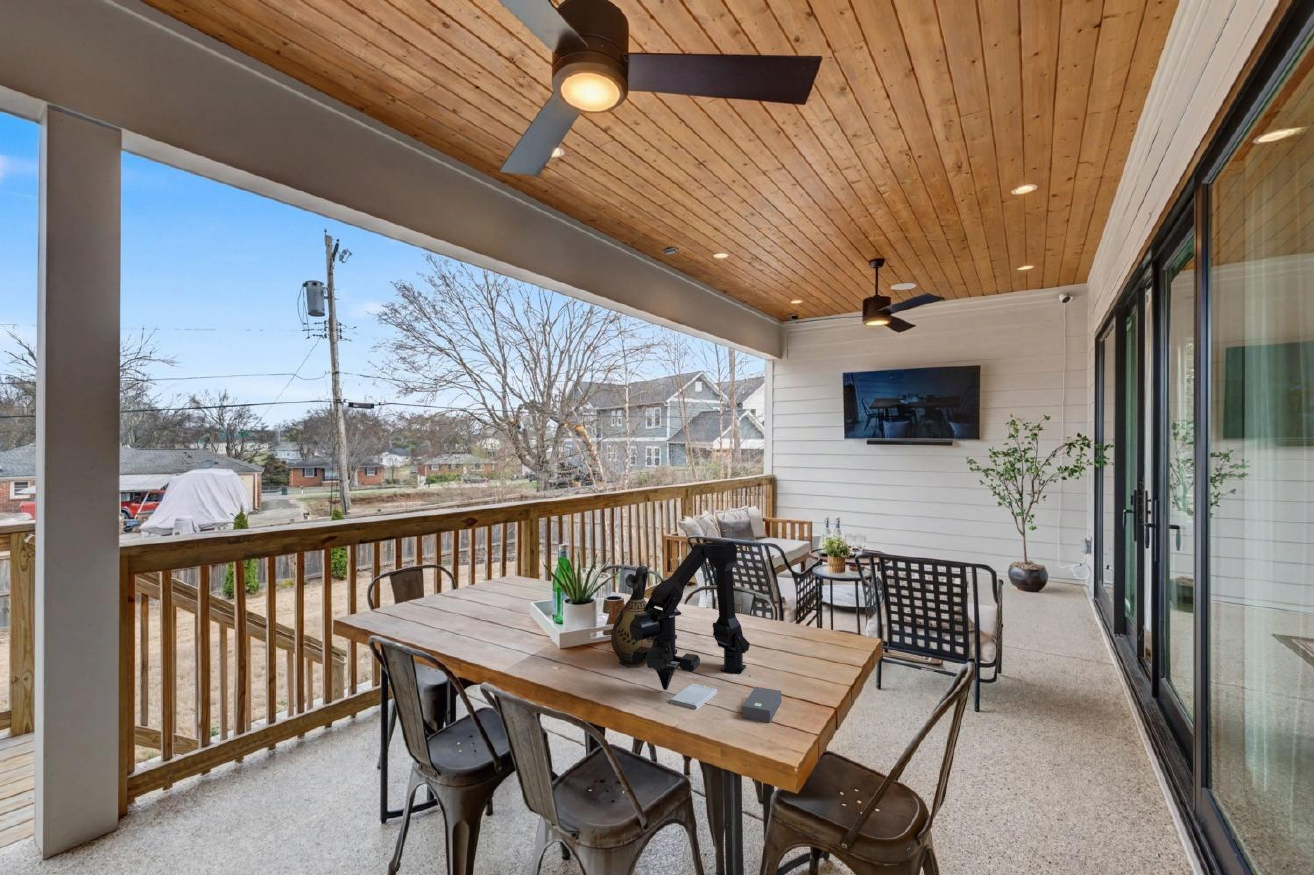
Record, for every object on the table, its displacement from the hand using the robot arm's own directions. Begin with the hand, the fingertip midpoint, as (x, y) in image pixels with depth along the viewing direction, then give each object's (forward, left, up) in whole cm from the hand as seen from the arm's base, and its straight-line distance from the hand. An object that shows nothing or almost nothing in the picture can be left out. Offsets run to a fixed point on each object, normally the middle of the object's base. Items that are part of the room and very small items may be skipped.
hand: (665, 689), depth 164 cm
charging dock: (0, +27, -1) cm, 27 cm away
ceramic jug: (-18, -18, -1) cm, 25 cm away
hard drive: (0, +8, -2) cm, 9 cm away
